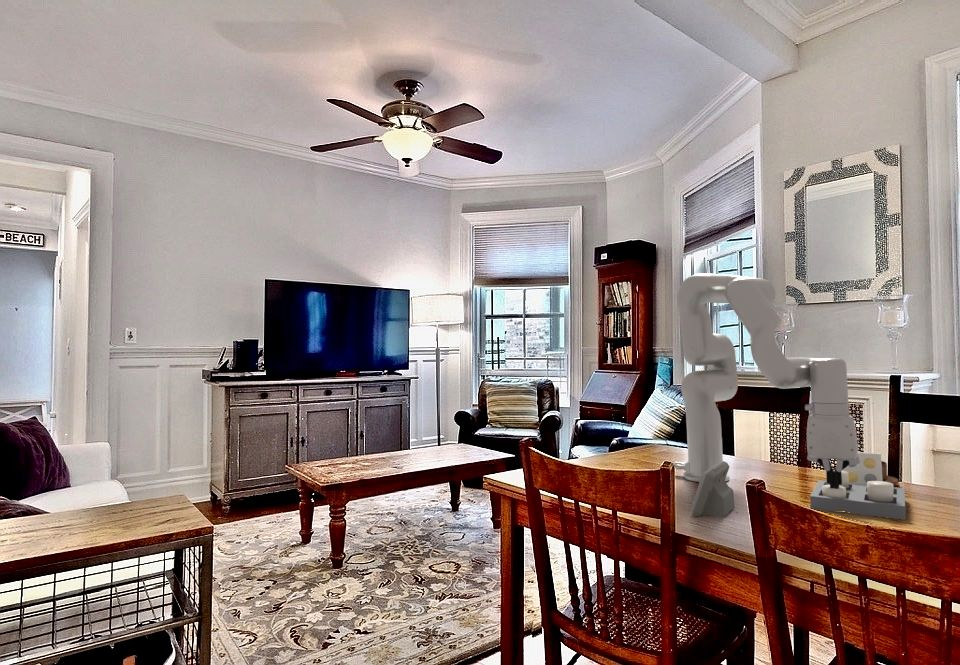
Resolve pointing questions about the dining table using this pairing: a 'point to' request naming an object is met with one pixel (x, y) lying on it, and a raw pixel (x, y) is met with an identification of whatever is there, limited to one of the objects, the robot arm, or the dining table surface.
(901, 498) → the button board
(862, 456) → the card
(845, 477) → the button
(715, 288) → the robot arm
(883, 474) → the cup and saucer
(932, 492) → the dining table surface
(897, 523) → the dining table surface
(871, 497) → the button
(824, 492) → the button
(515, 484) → the dining table surface
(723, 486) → the grey slanted panel stand
